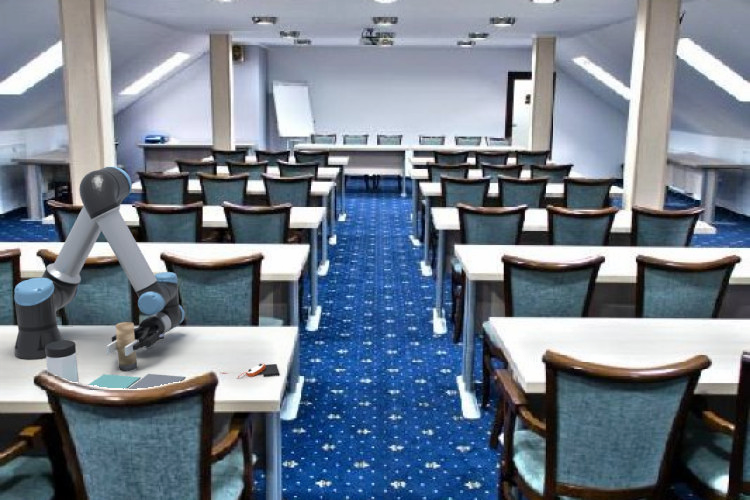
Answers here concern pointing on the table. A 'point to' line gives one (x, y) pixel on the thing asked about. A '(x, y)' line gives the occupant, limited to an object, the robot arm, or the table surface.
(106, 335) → the table surface
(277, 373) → the multimeter
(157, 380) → the slate seat
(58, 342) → the jar
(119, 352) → the banded sleeve
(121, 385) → the teal seat
